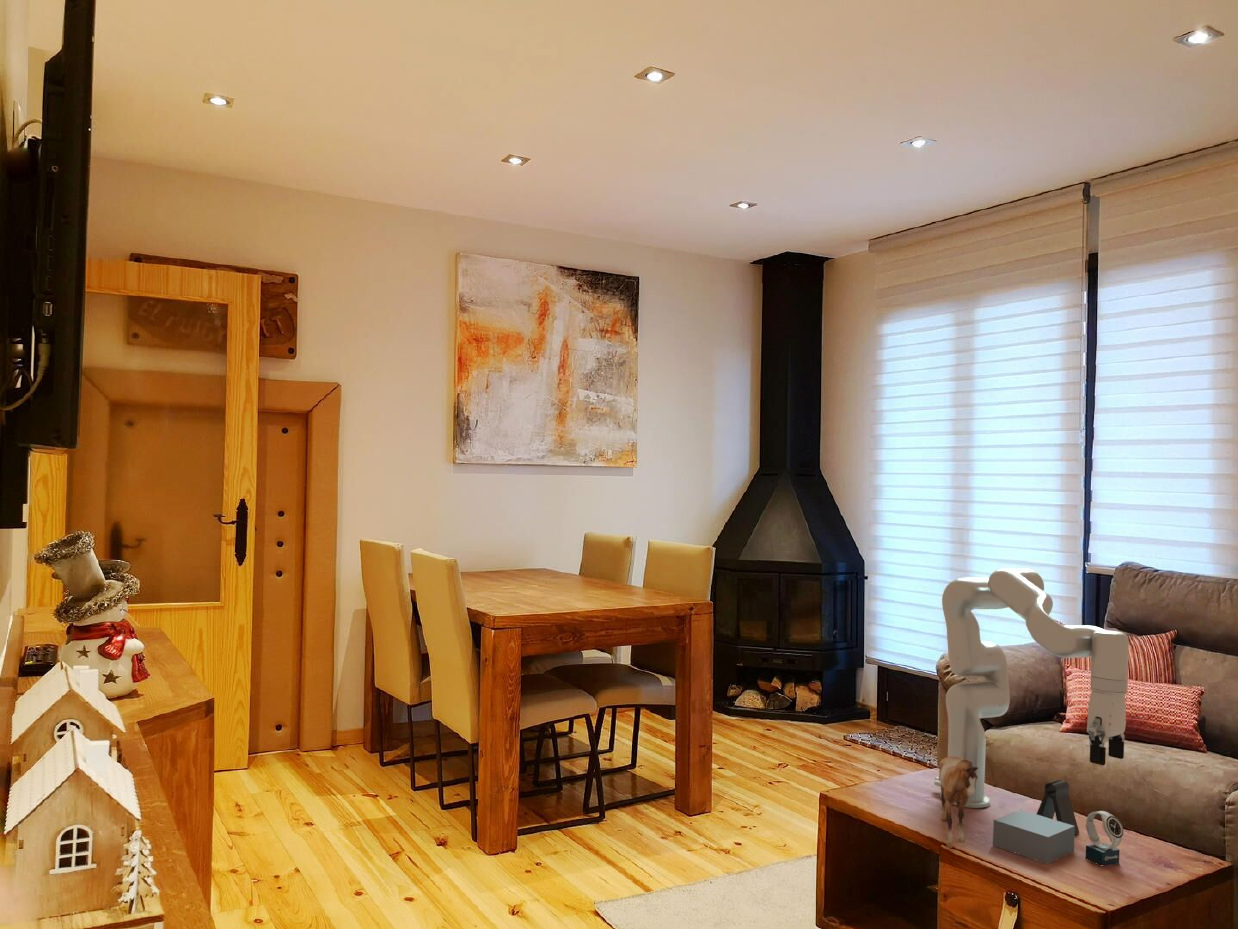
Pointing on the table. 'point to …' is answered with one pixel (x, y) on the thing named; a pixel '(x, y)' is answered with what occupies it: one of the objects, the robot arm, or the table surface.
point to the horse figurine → (956, 790)
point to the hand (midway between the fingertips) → (1106, 760)
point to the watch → (1102, 851)
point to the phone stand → (1058, 804)
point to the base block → (1033, 836)
